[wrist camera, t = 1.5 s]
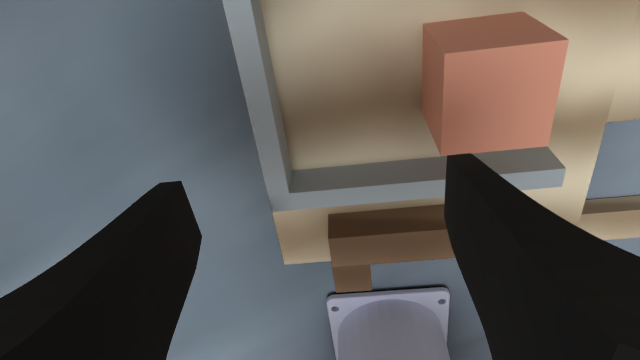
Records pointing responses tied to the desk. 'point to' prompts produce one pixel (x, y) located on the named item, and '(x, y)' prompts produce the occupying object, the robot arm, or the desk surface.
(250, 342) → the desk surface
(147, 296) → the robot arm
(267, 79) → the grey rectangular frame
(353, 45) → the birch board
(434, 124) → the coral cube
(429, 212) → the walnut bar
